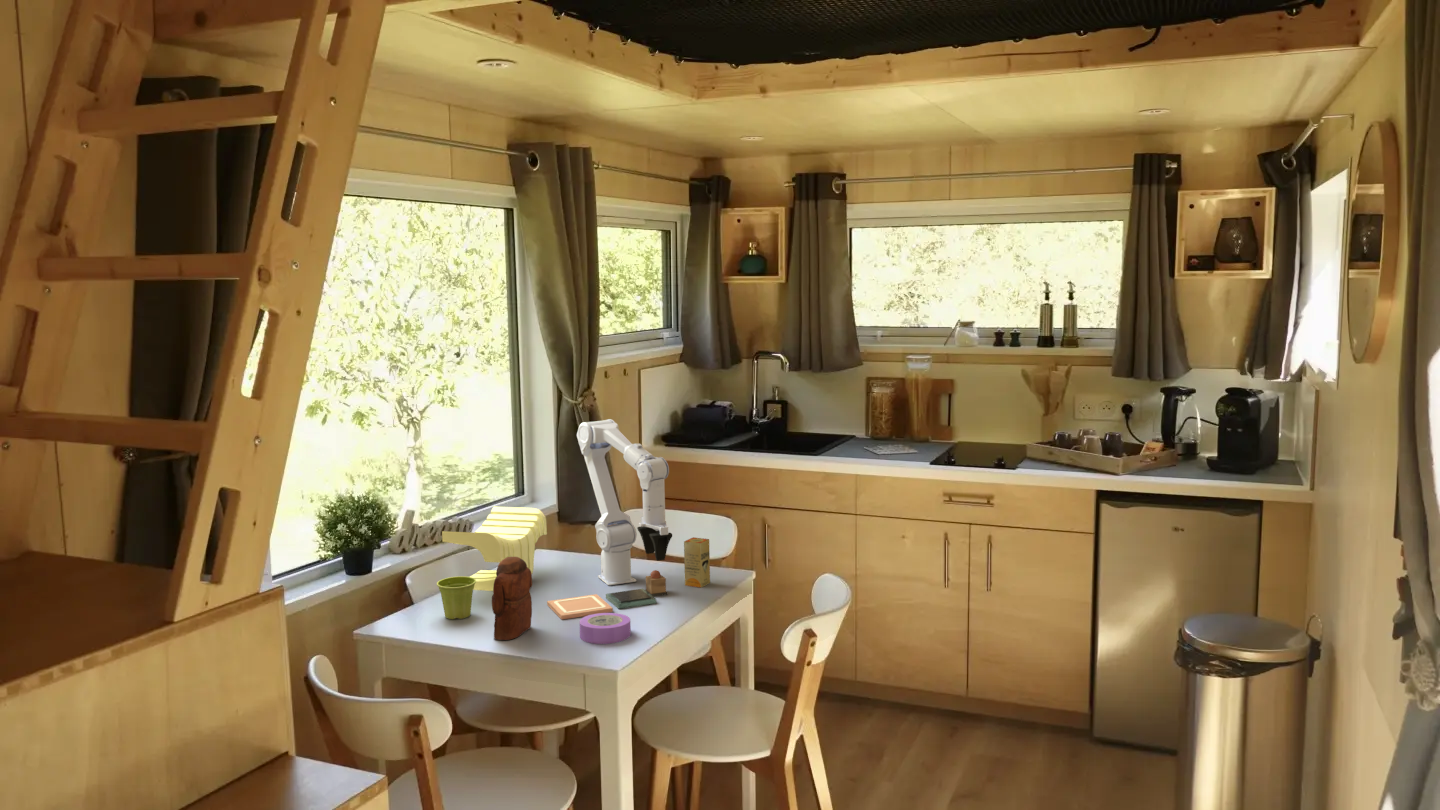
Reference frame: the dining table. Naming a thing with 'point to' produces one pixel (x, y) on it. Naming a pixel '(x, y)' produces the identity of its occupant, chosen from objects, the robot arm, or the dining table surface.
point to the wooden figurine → (512, 599)
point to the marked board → (579, 606)
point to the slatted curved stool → (503, 539)
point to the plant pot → (457, 596)
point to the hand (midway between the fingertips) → (655, 556)
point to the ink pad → (630, 598)
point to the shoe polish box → (697, 562)
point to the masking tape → (605, 628)
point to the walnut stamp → (656, 584)
